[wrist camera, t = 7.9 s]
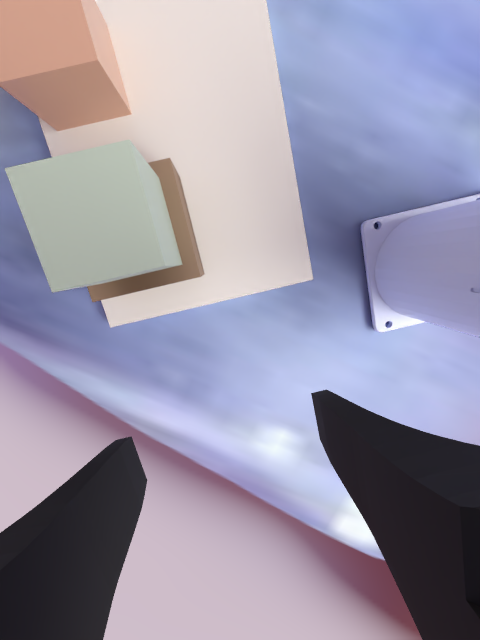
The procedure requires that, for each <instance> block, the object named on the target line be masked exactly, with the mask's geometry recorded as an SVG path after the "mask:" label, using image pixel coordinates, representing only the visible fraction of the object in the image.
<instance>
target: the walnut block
mask: <svg viewBox="0 0 480 640" xmlns="http://www.w3.org/2000/svg"><path fill="white" fill-rule="evenodd" d="M148 164H149V165H150V167H151V168H152V169H153V170H154V172H155V173H156V174H157V176H158V177H159V180H160V183H161V187H162V191H163V195H164V198H165V202H166V206H167V209H168V213H169V217H170V220H171V224H172V228H173V231H174V235H175V239H176V242H177V246H178V250H179V253H180V257H181V261H182V264H183V265H179V266H175V267H170V268H166V269H162V270H158V271H153V272H149V273H145V274H141V275H137V276H132V277H128V278H124V279H120V280H115V281H111V282H107V283H103V284H97V285H92V286H87V288H88V291H89V293H90V296H91V299H92V302H96V301H100V300H104V299H109V298H113V297H117V296H121V295H126V294H130V293H134V292H138V291H143V290H147V289H151V288H155V287H160V286H164V285H168V284H172V283H177V282H181V281H185V280H189V279H194V278H198V277H201V276H203V275H204V274H205V273H204V269H203V266H202V262H201V258H200V254H199V250H198V246H197V242H196V238H195V234H194V230H193V226H192V222H191V218H190V214H189V211H188V207H187V203H186V199H185V195H184V191H183V187H182V183H181V179H180V176H179V174H178V172H177V170H176V168H175V166H174V165H173V163H172V161H171V159H170V158H166V159H162V160H158V161H153V162H149V163H148Z"/></svg>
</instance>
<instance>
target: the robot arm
mask: <svg viewBox="0 0 480 640" xmlns="http://www.w3.org/2000/svg"><path fill="white" fill-rule="evenodd" d="M475 200H476V201H475ZM375 222H376V223H378V228H377V229H375V228H374V224H375ZM361 236H362V244H363V252H364V260H365V268H366V276H367V283H368V291H369V299H370V307H371V315H372V323H373V328H374V330H375V331H377V332H386V331H391V330H395V329H399V328H403V327H407V326H412V325H416V324H420V323H424V322H428V323H431V324H435V325H438V326H441V327H445V328H448V329H452V330H455V331H458V332H462V333H465V334H468V335H472V336H475V337H478V338H480V194H476V195H472V196H468V197H464V198H459V199H455V200H451V201H447V202H442V203H438V204H434V205H429V206H425V207H421V208H417V209H412V210H408V211H404V212H400V213H395V214H391V215H387V216H383V217H378V218H374V219H370V220H366V221H364V222H363V223H362V225H361ZM387 321H389V325H388V326H387V327H386V326H385V324H386V322H387ZM311 394H312V399H313V404H314V410H315V415H316V420H317V426H318V431H319V436H320V440H321V442H322V444H323V447H324V449H325V451H326V454H327V456H328V458H329V460H330V462H331V464H332V466H333V467H334V469H335V471H336V473H337V474H338V476H339V478H340V479H341V481H342V483H343V484H344V486H345V488H346V489H347V491H348V493H349V494H350V496H351V498H352V499H353V501H354V503H355V504H356V506H357V508H358V509H359V511H360V513H361V514H362V516H363V518H364V519H365V521H366V523H367V525H368V527H369V529H370V530H371V532H372V534H373V536H374V538H375V540H376V542H377V544H378V546H379V548H380V550H381V552H382V555H383V557H384V559H385V561H386V563H387V565H388V567H389V569H390V571H391V573H392V575H393V577H394V579H395V581H396V584H397V586H398V588H399V590H400V592H401V594H402V596H403V598H404V601H405V603H406V605H407V607H408V609H409V611H410V613H411V615H412V618H413V620H414V622H415V624H416V626H417V629H418V630H419V633H420V635H421V637H422V639H423V640H480V446H478V445H473V444H469V443H464V442H460V441H456V440H452V439H448V438H444V437H440V436H437V435H433V434H430V433H426V432H423V431H420V430H417V429H414V428H411V427H408V426H405V425H402V424H399V423H397V422H394V421H392V420H389V419H387V418H384V417H382V416H380V415H377V414H375V413H373V412H371V411H368V410H366V409H364V408H362V407H360V406H358V405H356V404H354V403H352V402H350V401H348V400H346V399H344V398H342V397H340V396H338V395H336V394H334V393H333V392H330V391H328V390H323V391H319V392H315V393H311ZM146 484H147V479H146V476H145V473H144V470H143V468H142V465H141V462H140V459H139V456H138V454H137V451H136V448H135V445H134V442H133V440H132V437H128V438H124V439H119V440H116V441H114V442H113V443H111V444H110V445H109V446H107V447H106V448H105V449H104V450H103V451H101V452H100V453H99V454H98V455H97V456H96V457H94V458H93V459H92V460H91V461H90V462H89V463H87V465H85V466H84V467H83V468H82V469H81V470H79V471H78V472H77V473H76V474H75V475H74V476H73V477H71V478H70V479H69V480H68V481H67V482H65V483H64V484H63V485H62V486H61V487H59V488H58V489H57V490H56V491H55V492H53V493H52V494H51V495H50V496H48V497H47V498H46V499H45V500H44V501H42V502H41V503H40V504H39V505H37V506H36V507H35V508H33V509H32V510H31V511H29V512H28V513H27V514H26V515H24V516H23V517H22V518H20V519H19V520H17V521H16V522H15V523H13V524H12V525H11V526H9V527H8V528H6V529H5V530H4V531H3V532H1V533H0V640H103V637H104V633H105V629H106V625H107V621H108V617H109V612H110V608H111V604H112V600H113V596H114V593H115V589H116V586H117V583H118V579H119V576H120V573H121V570H122V567H123V564H124V561H125V558H126V555H127V552H128V549H129V546H130V543H131V540H132V537H133V534H134V531H135V528H136V524H137V521H138V518H139V515H140V512H141V508H142V504H143V500H144V495H145V489H146Z"/></svg>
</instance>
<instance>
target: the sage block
mask: <svg viewBox="0 0 480 640" xmlns="http://www.w3.org/2000/svg"><path fill="white" fill-rule="evenodd" d="M5 171H6V173H7V176H8V179H9V181H10V184H11V187H12V189H13V192H14V194H15V197H16V200H17V202H18V205H19V207H20V210H21V213H22V215H23V218H24V221H25V223H26V226H27V228H28V231H29V234H30V236H31V239H32V241H33V244H34V247H35V249H36V252H37V254H38V257H39V260H40V262H41V265H42V268H43V270H44V273H45V275H46V278H47V281H48V283H49V286H50V288H51V291H52V293H53V292H59V291H64V290H70V289H75V288H81V287H86V286H92V285H97V284H103V283H107V282H111V281H115V280H120V279H124V278H128V277H132V276H137V275H141V274H145V273H149V272H153V271H158V270H162V269H166V268H170V267H175V266H179V265H183V264H182V261H181V257H180V253H179V250H178V246H177V242H176V239H175V235H174V231H173V228H172V224H171V220H170V217H169V213H168V209H167V206H166V202H165V198H164V195H163V191H162V187H161V183H160V180H159V177H158V176H157V174H156V173H155V172H154V170H153V169H152V168H151V167H150V165H149V164H148V163H147V161H146V160H145V159H144V158H143V156H142V155H141V154H140V152H139V151H138V150H137V148H136V147H135V146H134V145H133V143H132V142H131V141H130V139H129V140H124V141H120V142H116V143H111V144H107V145H103V146H99V147H94V148H90V149H86V150H81V151H77V152H73V153H68V154H64V155H60V156H56V157H51V158H47V159H43V160H38V161H34V162H30V163H25V164H21V165H17V166H13V167H8V168H5Z"/></svg>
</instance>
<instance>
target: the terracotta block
mask: <svg viewBox="0 0 480 640" xmlns="http://www.w3.org/2000/svg"><path fill="white" fill-rule="evenodd" d="M0 87H1V88H3V89H4V90H5V91H7V92H8V93H9V94H10V95H12V96H13V97H14V98H16V99H17V100H18V101H19V102H21V103H22V104H23V105H24V106H26V107H27V108H28V109H30V110H31V111H32V112H33V113H35V114H36V115H37V116H39V117H40V118H41V119H42V120H44V121H45V122H46V123H47V124H49V125H50V126H51V127H53V128H54V129H55V130H56V131H62V130H66V129H70V128H75V127H79V126H83V125H88V124H92V123H96V122H101V121H105V120H109V119H114V118H118V117H122V116H127V115H131V114H132V113H131V109H130V106H129V102H128V98H127V95H126V91H125V87H124V84H123V80H122V77H121V73H120V69H119V66H118V62H117V59H116V55H115V51H114V48H113V44H112V41H111V37H110V33H109V30H108V26H107V23H106V21H105V19H104V17H103V15H102V13H101V11H100V9H99V7H98V5H97V3H96V1H95V0H0Z"/></svg>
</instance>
